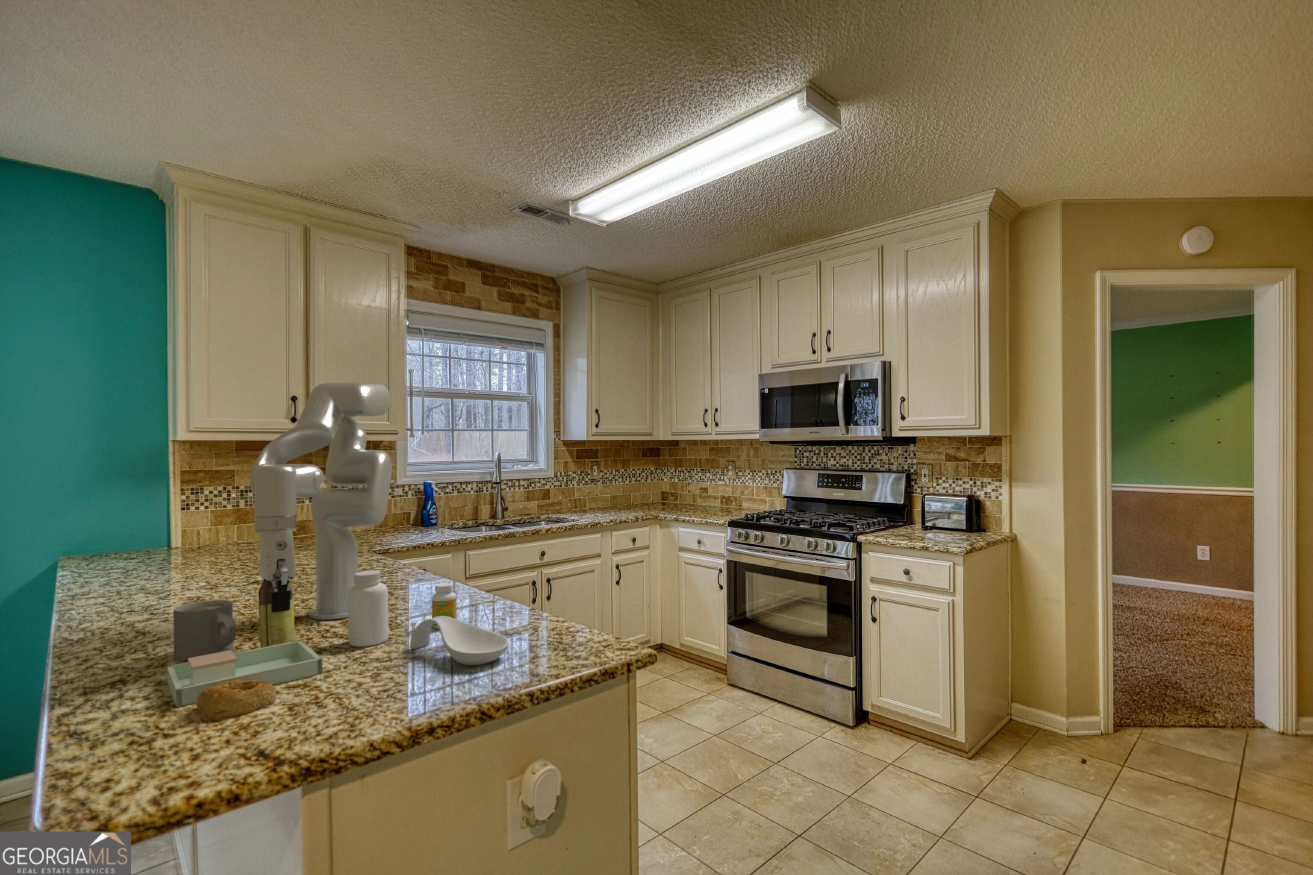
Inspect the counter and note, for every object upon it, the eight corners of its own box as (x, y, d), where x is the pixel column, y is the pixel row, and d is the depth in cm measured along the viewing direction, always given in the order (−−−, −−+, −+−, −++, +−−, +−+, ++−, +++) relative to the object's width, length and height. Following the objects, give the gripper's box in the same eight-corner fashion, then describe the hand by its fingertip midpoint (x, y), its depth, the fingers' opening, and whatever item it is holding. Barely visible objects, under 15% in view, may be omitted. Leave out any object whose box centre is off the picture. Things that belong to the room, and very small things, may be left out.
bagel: (267, 717, 100) (266, 686, 100) (185, 728, 97) (184, 696, 97) (284, 694, 110) (283, 666, 110) (210, 704, 107) (209, 675, 107)
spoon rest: (521, 657, 127) (520, 621, 127) (477, 676, 117) (476, 637, 117) (439, 640, 139) (439, 607, 139) (393, 656, 129) (392, 620, 129)
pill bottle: (339, 645, 136) (338, 574, 136) (369, 634, 143) (368, 567, 144) (367, 649, 133) (367, 577, 133) (396, 638, 140) (396, 569, 141)
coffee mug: (164, 657, 130) (164, 608, 130) (218, 643, 138) (218, 597, 138) (196, 668, 123) (195, 616, 123) (251, 653, 131) (250, 604, 132)
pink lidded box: (230, 675, 117) (230, 649, 118) (237, 684, 113) (236, 658, 113) (187, 684, 113) (187, 658, 113) (192, 694, 108) (192, 667, 108)
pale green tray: (300, 655, 129) (300, 640, 129) (322, 675, 118) (322, 658, 118) (167, 683, 115) (166, 666, 115) (176, 709, 103) (176, 689, 103)
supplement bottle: (434, 630, 146) (433, 587, 146) (430, 624, 151) (430, 583, 151) (458, 627, 148) (457, 585, 149) (454, 621, 153) (453, 581, 153)
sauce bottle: (301, 646, 136) (300, 552, 136) (281, 656, 129) (280, 558, 130) (272, 645, 136) (272, 552, 136) (251, 655, 130) (250, 557, 130)
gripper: (306, 525, 129) (306, 611, 128) (286, 520, 142) (285, 598, 141) (263, 528, 124) (263, 617, 123) (246, 523, 137) (246, 603, 136)
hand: (275, 607), depth 132 cm, fingers open, 9 cm apart
